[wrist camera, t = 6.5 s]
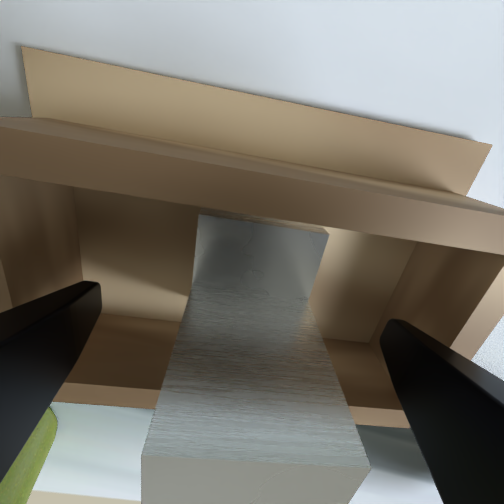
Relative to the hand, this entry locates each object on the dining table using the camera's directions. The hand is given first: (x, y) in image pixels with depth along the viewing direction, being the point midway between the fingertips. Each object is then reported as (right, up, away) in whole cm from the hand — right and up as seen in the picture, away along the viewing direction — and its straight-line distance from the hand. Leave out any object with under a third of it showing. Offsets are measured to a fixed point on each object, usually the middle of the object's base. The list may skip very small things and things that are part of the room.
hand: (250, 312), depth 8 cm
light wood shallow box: (0, +2, +3) cm, 4 cm away
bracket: (0, +1, +3) cm, 3 cm away
